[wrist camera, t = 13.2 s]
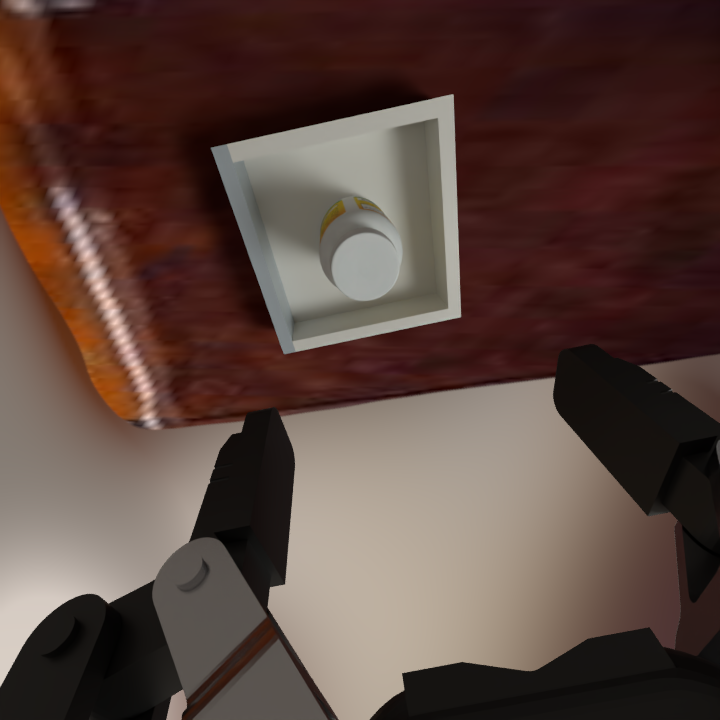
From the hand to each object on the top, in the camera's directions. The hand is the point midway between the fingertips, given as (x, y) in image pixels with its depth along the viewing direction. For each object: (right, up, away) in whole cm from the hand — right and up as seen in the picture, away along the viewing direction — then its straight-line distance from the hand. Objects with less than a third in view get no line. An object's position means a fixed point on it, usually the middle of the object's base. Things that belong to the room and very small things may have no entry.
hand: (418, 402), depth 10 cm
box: (-2, +12, +19) cm, 22 cm away
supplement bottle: (-2, +12, +18) cm, 22 cm away
